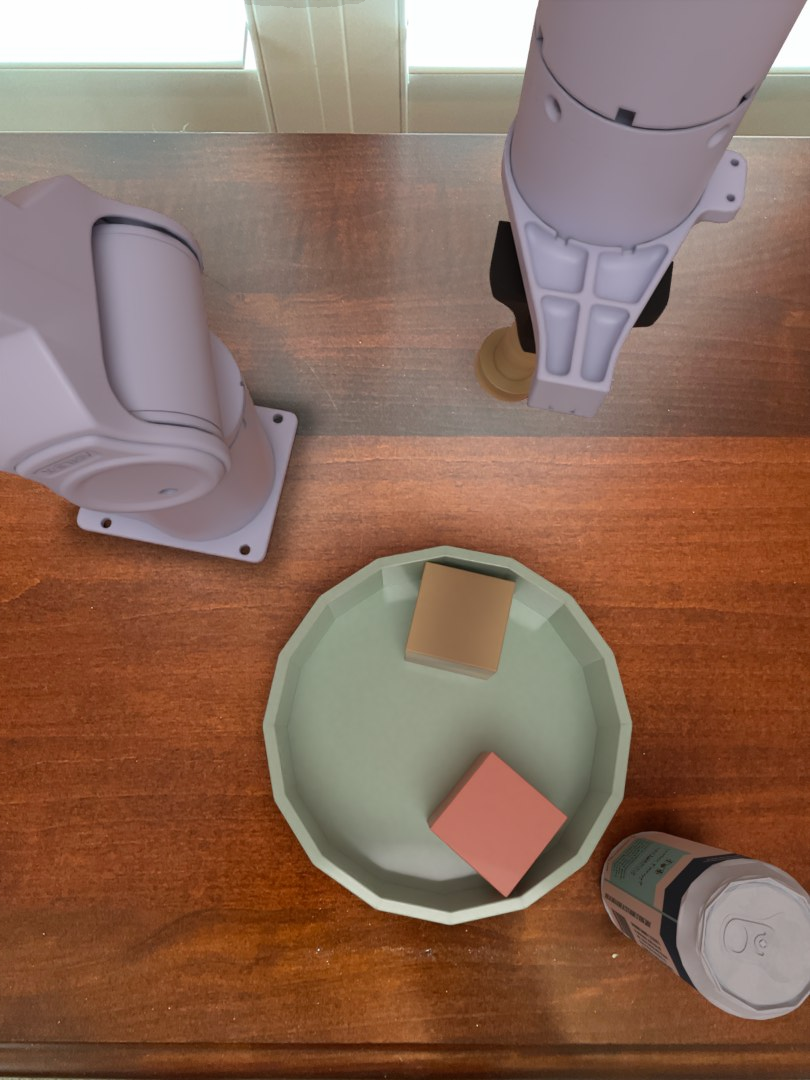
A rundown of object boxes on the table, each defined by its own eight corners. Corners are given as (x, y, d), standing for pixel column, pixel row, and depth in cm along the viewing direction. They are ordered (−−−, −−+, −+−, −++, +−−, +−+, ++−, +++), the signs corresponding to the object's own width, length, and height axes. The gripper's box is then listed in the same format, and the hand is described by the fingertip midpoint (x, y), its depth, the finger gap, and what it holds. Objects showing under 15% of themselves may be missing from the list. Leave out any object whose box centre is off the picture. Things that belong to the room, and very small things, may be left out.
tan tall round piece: (504, 323, 38) (571, 223, 31) (554, 371, 38) (634, 283, 31) (459, 366, 38) (516, 275, 30) (511, 416, 37) (581, 337, 30)
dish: (248, 862, 38) (226, 878, 33) (320, 546, 41) (310, 518, 37) (577, 931, 37) (603, 957, 32) (620, 604, 41) (650, 584, 36)
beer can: (697, 955, 37) (835, 1045, 25) (591, 931, 37) (678, 1010, 26) (709, 842, 38) (846, 879, 26) (606, 820, 38) (696, 847, 27)
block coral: (426, 821, 38) (429, 828, 34) (482, 751, 38) (491, 751, 34) (495, 883, 37) (506, 898, 33) (551, 811, 38) (568, 817, 34)
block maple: (404, 660, 39) (404, 650, 35) (423, 579, 40) (425, 560, 36) (487, 680, 39) (497, 672, 35) (504, 598, 40) (515, 581, 36)
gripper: (798, 330, 18) (629, 510, 31) (841, -169, 22) (673, 181, 35) (475, 273, 18) (443, 475, 31) (570, -210, 22) (506, 153, 35)
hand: (552, 319), depth 33 cm, fingers closed on tan tall round piece, 2 cm apart
